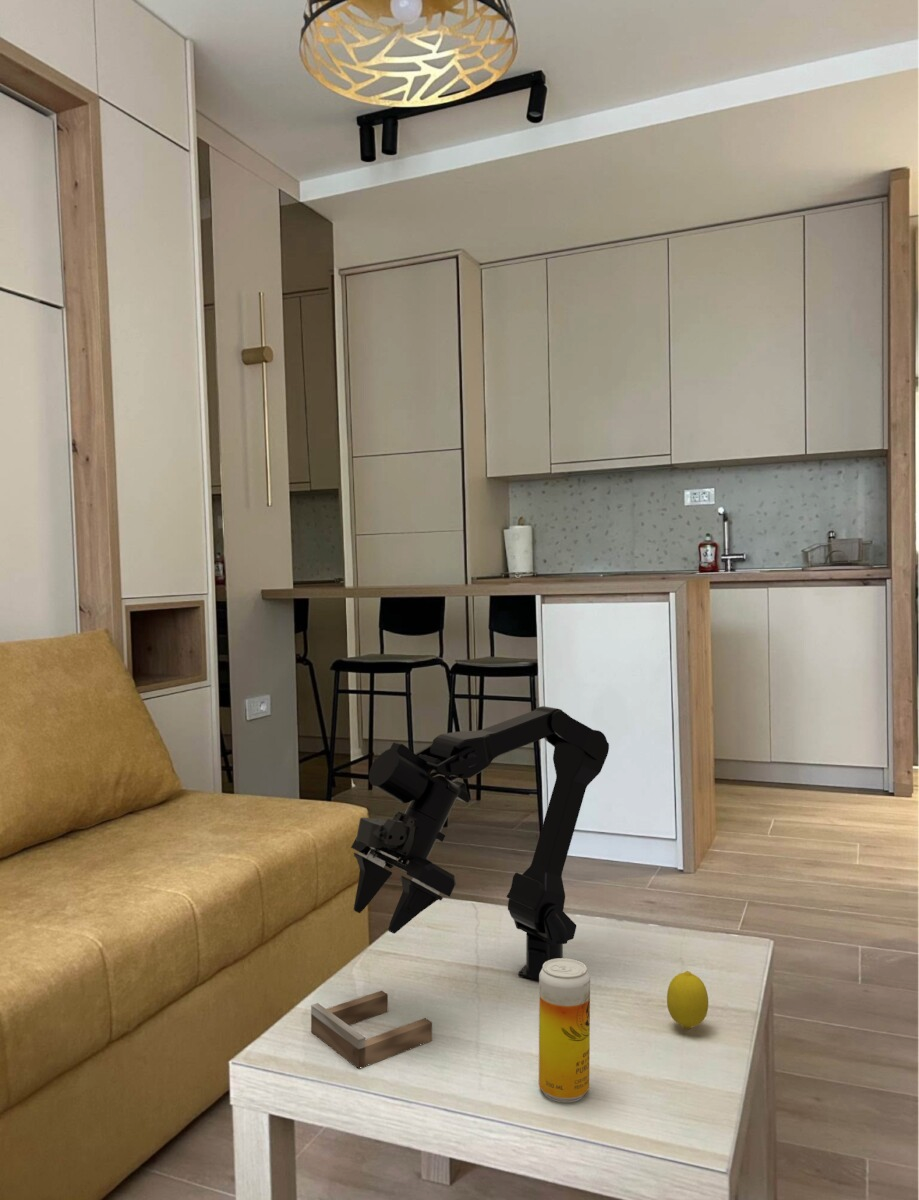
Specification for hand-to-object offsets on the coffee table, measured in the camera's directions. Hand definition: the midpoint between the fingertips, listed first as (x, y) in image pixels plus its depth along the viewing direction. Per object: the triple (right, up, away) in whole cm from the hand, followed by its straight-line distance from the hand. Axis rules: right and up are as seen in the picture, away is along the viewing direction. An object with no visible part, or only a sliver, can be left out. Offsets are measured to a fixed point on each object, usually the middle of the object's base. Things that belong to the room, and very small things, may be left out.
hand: (373, 921), depth 124 cm
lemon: (+43, -15, +1) cm, 46 cm away
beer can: (+24, -15, -15) cm, 32 cm away
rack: (0, -15, -2) cm, 15 cm away
